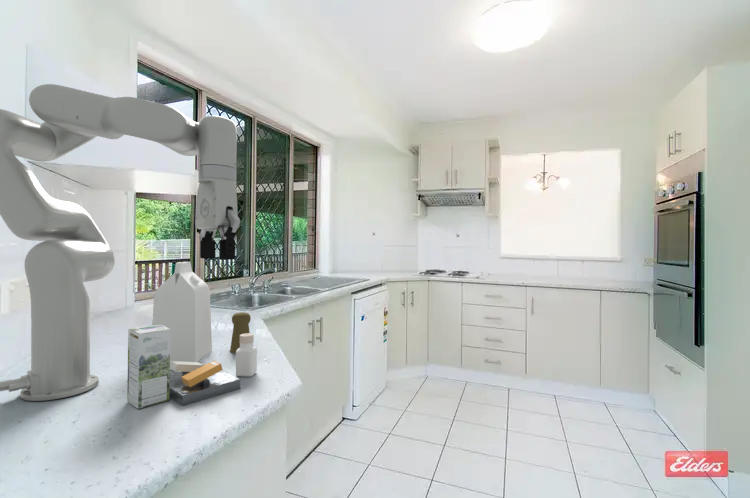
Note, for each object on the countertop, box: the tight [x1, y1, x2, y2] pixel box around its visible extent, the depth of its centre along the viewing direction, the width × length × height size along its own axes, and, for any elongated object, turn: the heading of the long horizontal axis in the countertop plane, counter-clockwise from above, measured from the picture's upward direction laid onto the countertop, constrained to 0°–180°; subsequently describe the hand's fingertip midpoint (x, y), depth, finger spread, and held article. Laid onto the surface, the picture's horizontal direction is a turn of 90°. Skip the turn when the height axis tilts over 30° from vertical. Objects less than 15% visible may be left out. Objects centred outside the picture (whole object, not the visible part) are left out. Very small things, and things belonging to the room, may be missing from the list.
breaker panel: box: [169, 370, 242, 407], centre depth 81 cm, size 12×14×3 cm
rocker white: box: [170, 361, 207, 373], centre depth 82 cm, size 7×3×2 cm, turn 139°
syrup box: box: [126, 325, 171, 410], centre depth 73 cm, size 6×6×14 cm
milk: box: [151, 261, 213, 362], centre depth 103 cm, size 12×12×26 cm
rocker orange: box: [181, 360, 223, 387], centre depth 78 cm, size 7×3×2 cm, turn 139°
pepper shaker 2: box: [235, 332, 258, 378], centre depth 89 cm, size 4×4×10 cm
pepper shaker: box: [229, 311, 251, 354], centre depth 110 cm, size 6×6×11 cm
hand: (217, 258), depth 80 cm, fingers open, 7 cm apart
